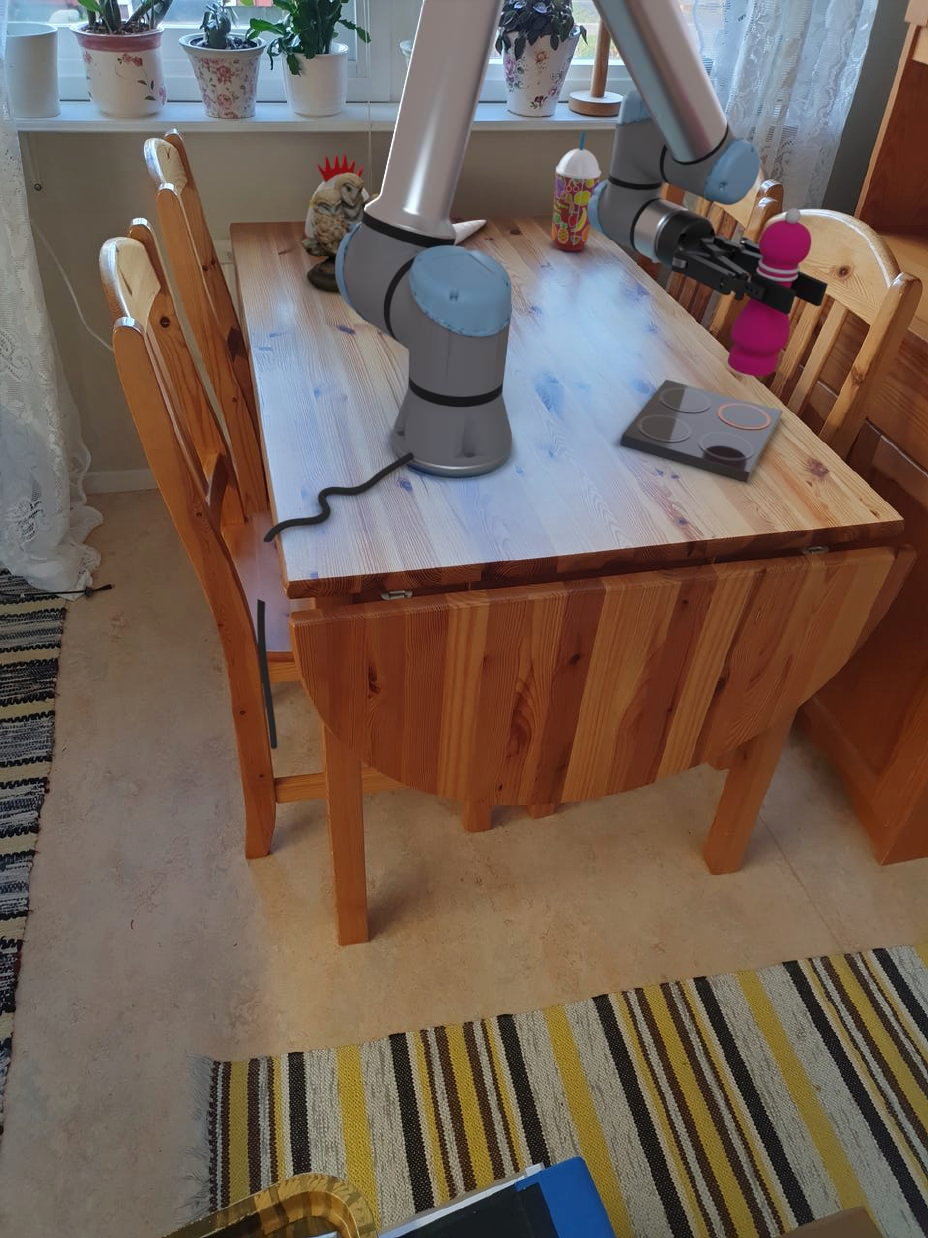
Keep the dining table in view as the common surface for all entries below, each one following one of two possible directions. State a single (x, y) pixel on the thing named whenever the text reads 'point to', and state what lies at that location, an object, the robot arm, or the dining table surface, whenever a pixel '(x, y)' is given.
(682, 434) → the hob
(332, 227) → the owl figurine
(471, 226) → the unicorn horn
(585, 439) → the dining table surface
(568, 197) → the smoothie
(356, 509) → the dining table surface
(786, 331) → the pepper mill
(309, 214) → the skull with red mohawk
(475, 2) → the robot arm
